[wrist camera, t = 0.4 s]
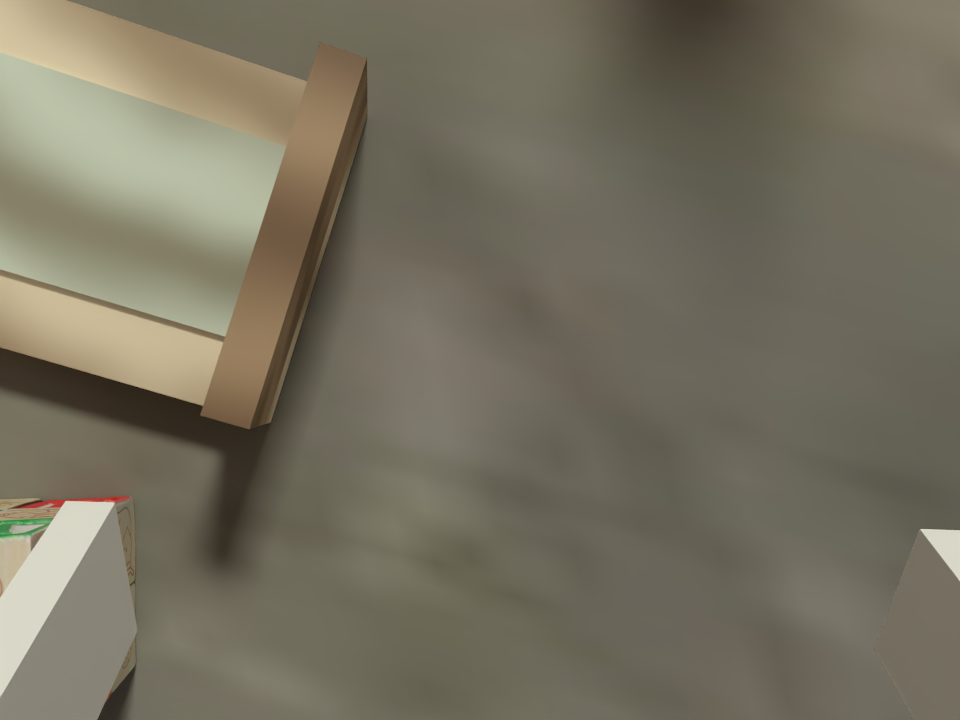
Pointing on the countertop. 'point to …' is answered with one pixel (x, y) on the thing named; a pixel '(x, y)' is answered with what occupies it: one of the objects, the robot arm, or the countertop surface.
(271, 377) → the cradle
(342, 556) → the countertop surface
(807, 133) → the countertop surface
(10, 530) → the stack of blocks
